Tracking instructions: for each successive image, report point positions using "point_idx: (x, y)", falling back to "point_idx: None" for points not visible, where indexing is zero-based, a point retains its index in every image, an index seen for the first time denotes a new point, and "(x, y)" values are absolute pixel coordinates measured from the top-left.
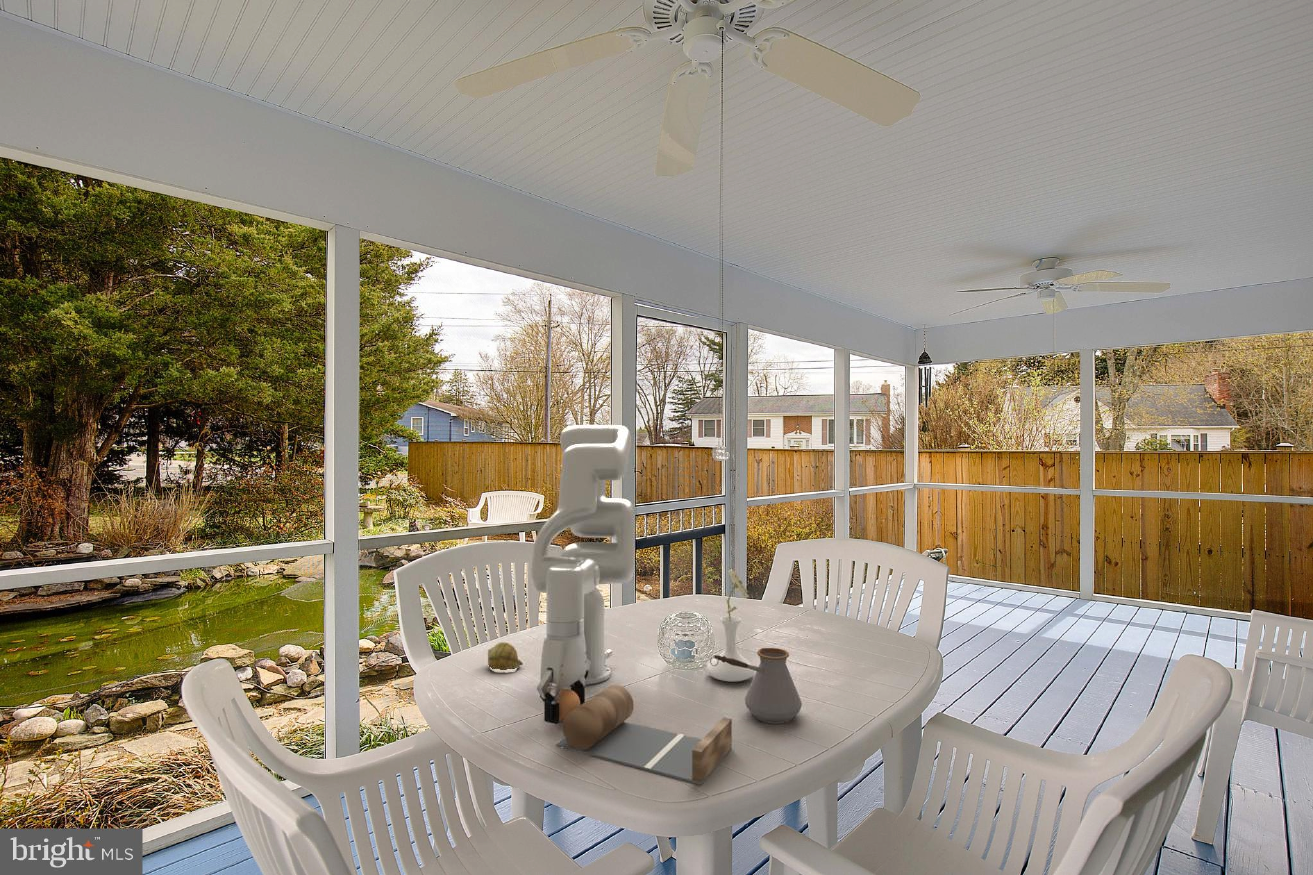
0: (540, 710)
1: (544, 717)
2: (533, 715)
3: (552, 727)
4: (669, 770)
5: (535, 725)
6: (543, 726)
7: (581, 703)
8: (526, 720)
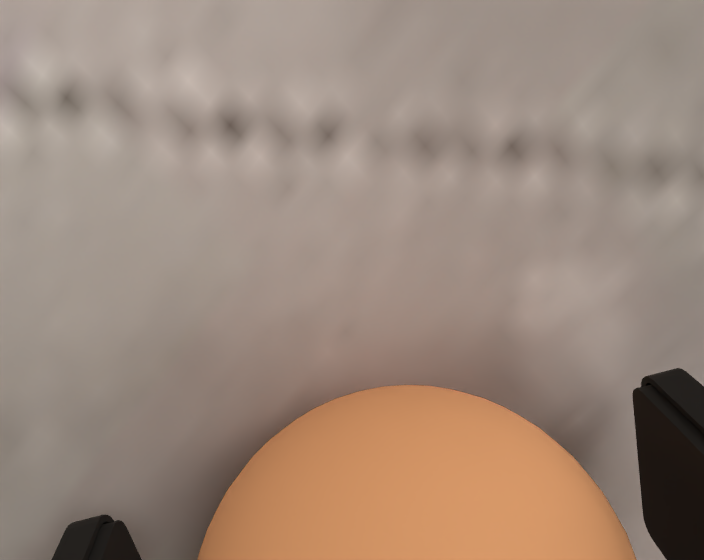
0: (367, 36)
1: (56, 554)
2: (191, 99)
3: (169, 512)
4: None
5: (45, 357)
6: (107, 435)
7: (666, 547)
8: (26, 159)
